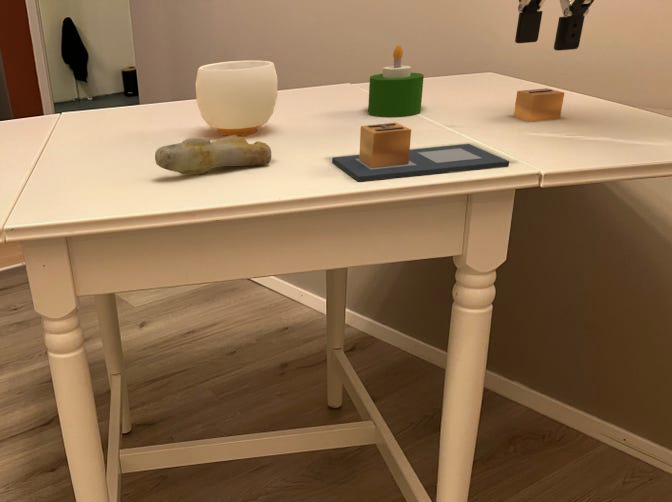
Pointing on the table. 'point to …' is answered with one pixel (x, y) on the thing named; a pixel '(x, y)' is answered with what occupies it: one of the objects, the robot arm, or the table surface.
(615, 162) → the table surface
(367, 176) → the word mat
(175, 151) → the figurine
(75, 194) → the table surface
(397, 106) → the candle
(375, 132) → the tile
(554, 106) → the tile
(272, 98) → the cup
